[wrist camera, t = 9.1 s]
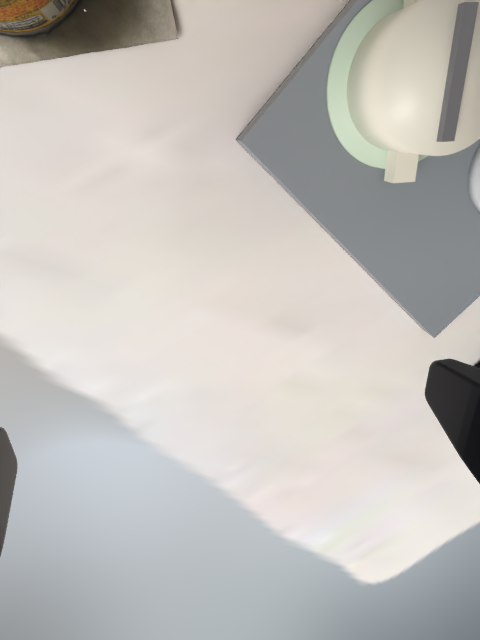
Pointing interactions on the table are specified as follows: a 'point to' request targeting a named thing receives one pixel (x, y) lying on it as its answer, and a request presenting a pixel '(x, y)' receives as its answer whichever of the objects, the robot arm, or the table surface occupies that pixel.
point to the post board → (372, 181)
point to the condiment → (79, 27)
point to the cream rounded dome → (418, 83)
